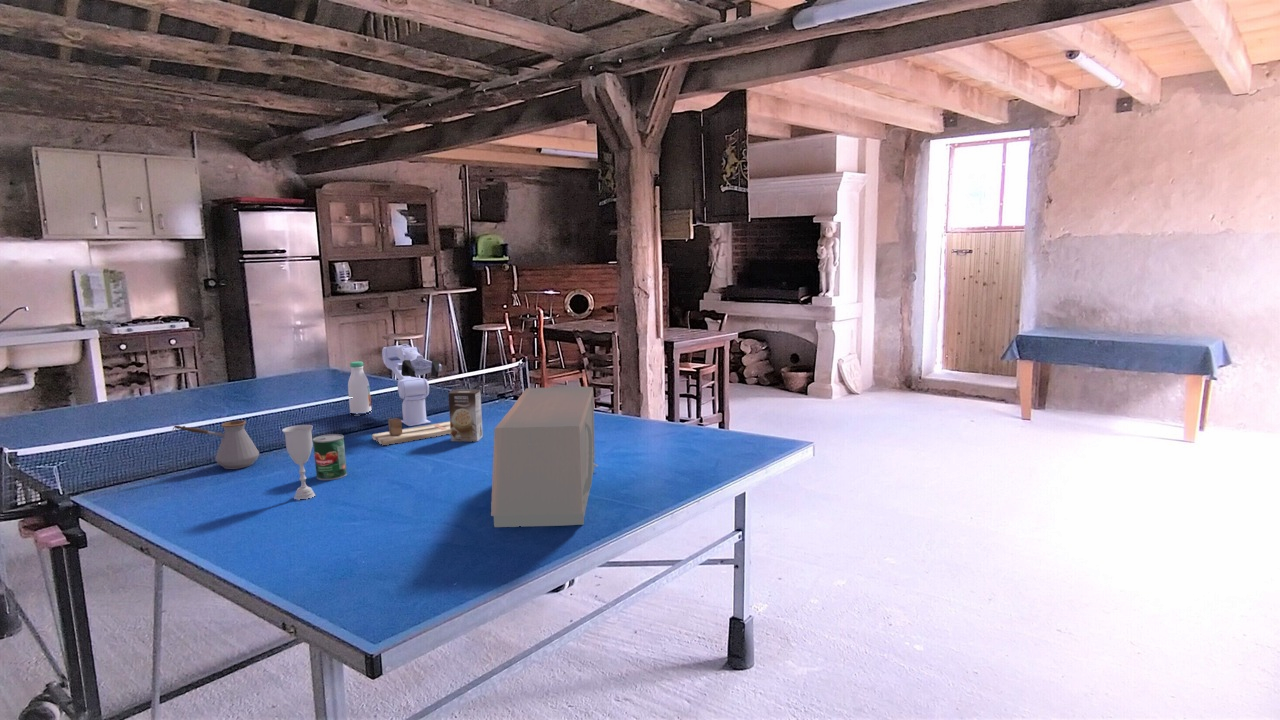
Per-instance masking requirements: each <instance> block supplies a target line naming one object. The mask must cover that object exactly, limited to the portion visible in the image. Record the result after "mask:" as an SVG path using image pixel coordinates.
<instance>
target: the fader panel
mask: <svg viewBox="0 0 1280 720" xmlns="http://www.w3.org/2000/svg"><path fill="white" fill-rule="evenodd" d="M446 434H449V435H451V429H450V420H449V421H443V422H438V423H432V424H431V423H430V424H425V425H420V426H419V425H418V426H413V427H408V428H402V434H401V435H395V436H393V435H391V434H389V431H384V432H378V433H373V434H371V437H372V438H373V439H372V440H374V441H375V440H376V441H375V442H377V441H378V442H379V443H378V442H377V443H378V444H379V445H381V444H382V445H381V446H383V445H387V446H390V445H389V444H393V445H396V444H395V443H398V444H402V442H404V443H409V442H414V441H413V440H415V441H420V440H419V439H421V440H426V439H431V438H430V437H432V438H437V437H441V435H443V436H447V435H446ZM436 436H437V437H436ZM425 438H426V439H425ZM408 441H409V442H408Z"/></svg>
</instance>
